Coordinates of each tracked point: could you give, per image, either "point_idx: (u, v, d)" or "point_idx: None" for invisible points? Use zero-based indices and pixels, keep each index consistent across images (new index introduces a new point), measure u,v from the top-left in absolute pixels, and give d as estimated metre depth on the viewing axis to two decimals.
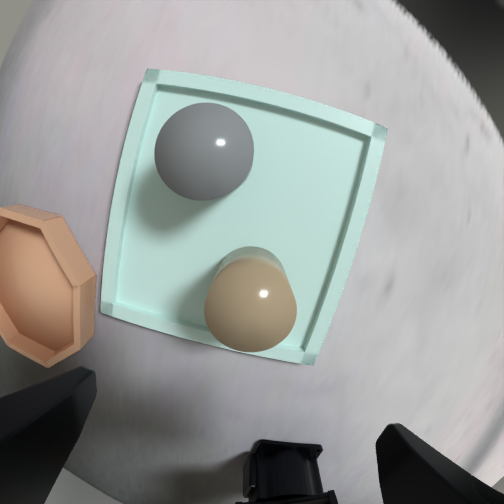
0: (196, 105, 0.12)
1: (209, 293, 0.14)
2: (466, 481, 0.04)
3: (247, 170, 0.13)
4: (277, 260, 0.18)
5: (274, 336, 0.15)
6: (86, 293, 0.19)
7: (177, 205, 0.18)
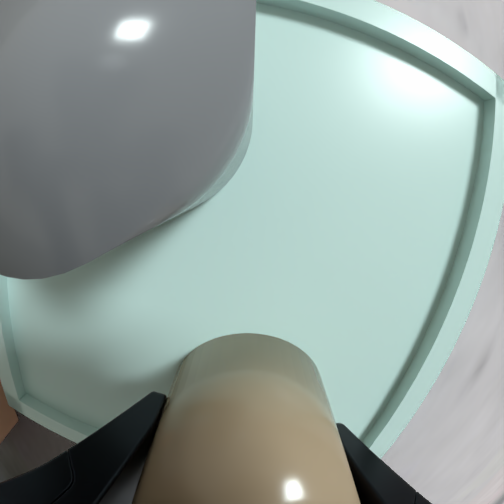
0: None
1: None
2: (406, 499, 0.04)
3: (217, 107, 0.02)
4: (310, 371, 0.07)
5: None
6: None
7: None
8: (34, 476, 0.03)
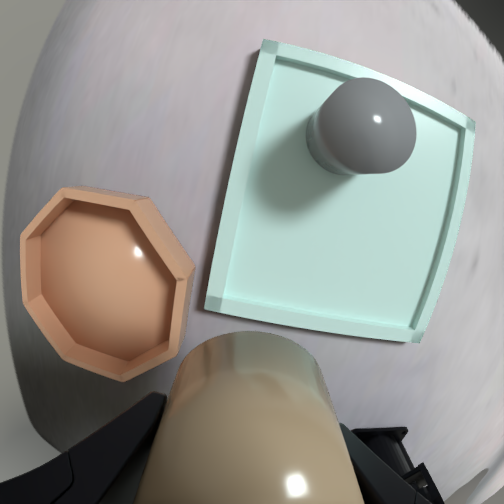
0: (363, 79, 0.11)
1: None
2: (406, 498, 0.04)
3: (412, 148, 0.12)
4: (312, 369, 0.07)
5: None
6: (188, 287, 0.17)
7: (304, 184, 0.17)
8: (34, 476, 0.03)
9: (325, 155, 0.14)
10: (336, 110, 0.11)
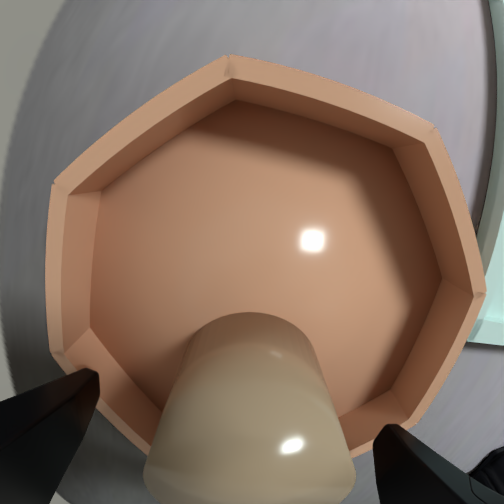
0: None
1: (148, 465, 0.04)
2: (463, 482, 0.04)
3: None
4: (305, 345, 0.08)
5: None
6: None
7: None
8: None
9: None
10: None
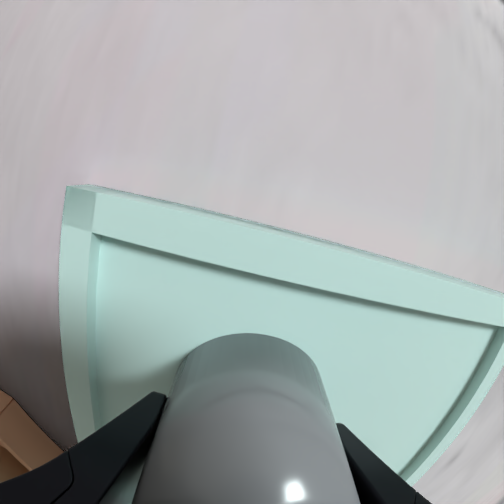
0: (220, 498, 0.03)
1: None
2: (406, 499, 0.04)
3: None
4: (15, 469, 0.10)
5: None
6: None
7: None
8: (34, 476, 0.03)
9: None
10: None
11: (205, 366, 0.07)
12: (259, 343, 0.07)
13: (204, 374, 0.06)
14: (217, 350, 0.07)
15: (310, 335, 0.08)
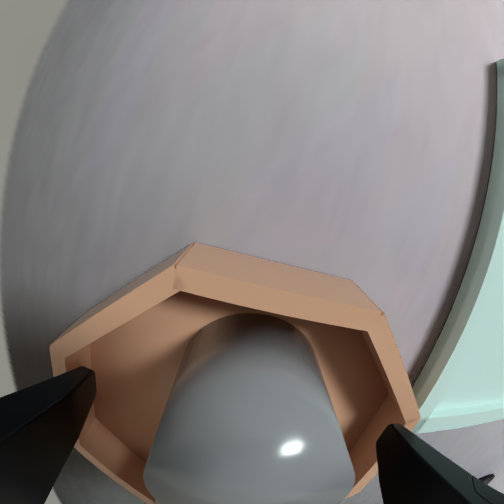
0: (228, 442, 0.04)
1: None
2: (466, 481, 0.04)
3: None
4: None
5: None
6: None
7: None
8: None
9: None
10: (163, 482, 0.05)
11: (212, 340, 0.08)
12: (260, 321, 0.08)
13: (211, 347, 0.07)
14: (223, 327, 0.08)
15: None
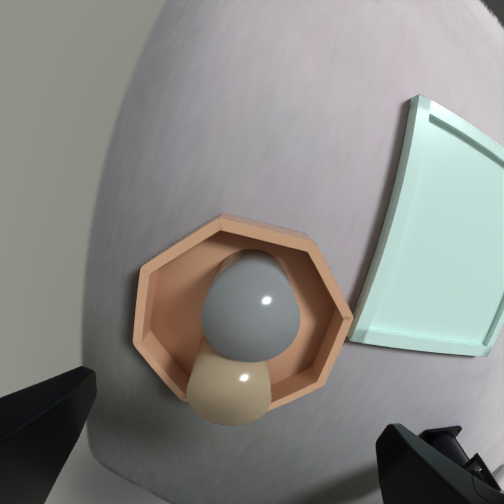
0: (243, 277, 0.13)
1: (190, 383, 0.14)
2: (466, 481, 0.04)
3: (293, 338, 0.14)
4: None
5: (251, 415, 0.15)
6: None
7: (438, 232, 0.17)
8: None
9: None
10: (211, 312, 0.13)
11: (233, 258, 0.16)
12: (256, 251, 0.17)
13: (233, 259, 0.16)
14: (237, 253, 0.17)
15: (481, 168, 0.16)
